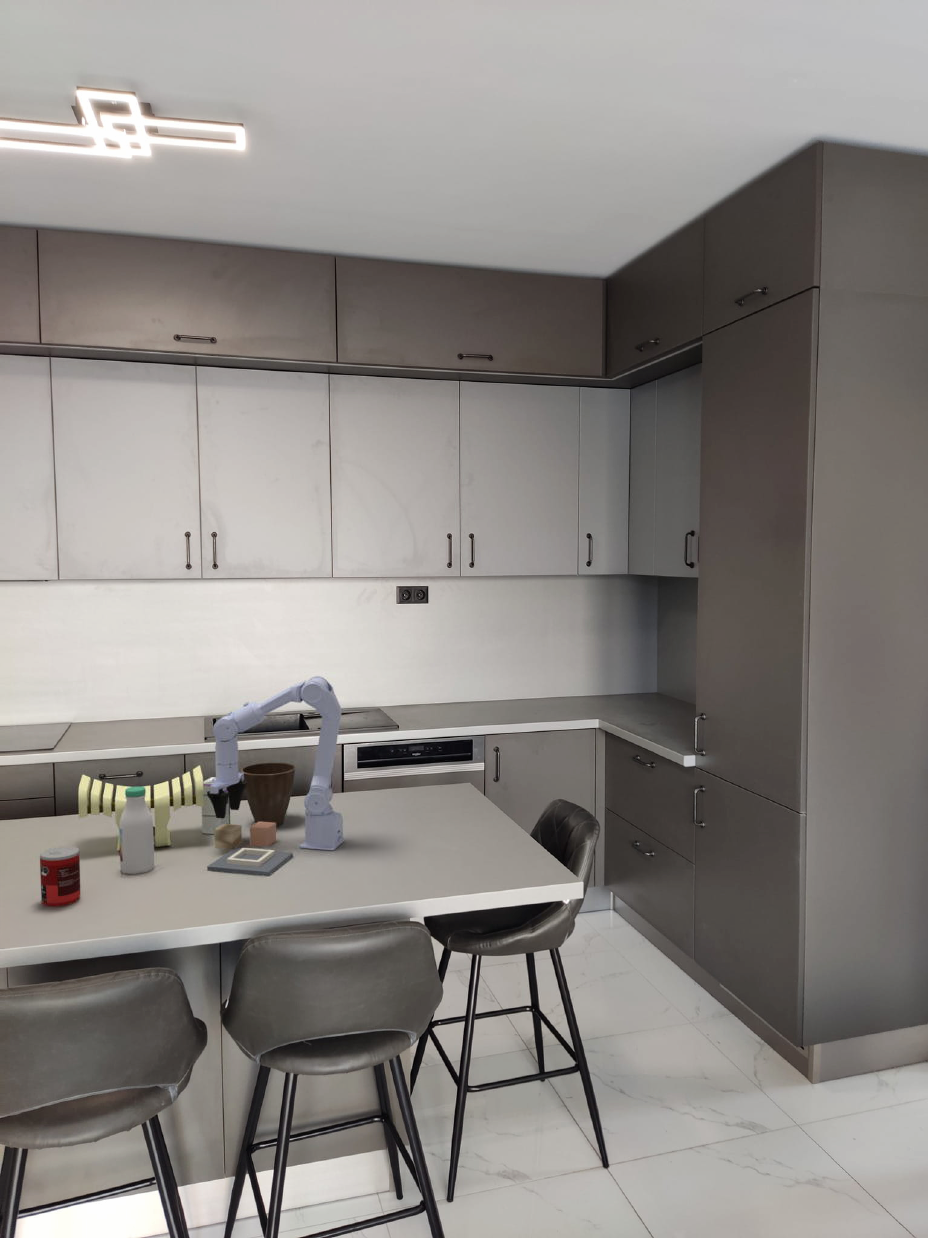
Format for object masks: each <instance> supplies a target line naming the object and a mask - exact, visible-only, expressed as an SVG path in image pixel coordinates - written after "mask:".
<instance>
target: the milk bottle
mask: <svg viewBox="0 0 928 1238" xmlns="http://www.w3.org/2000/svg"><path fill="white" fill-rule="evenodd" d="M129 787H130V788H127V789H126V790H125V795H126V797H125V798H126V799H127V801H126V806H125V809H124V811H123V813H122V816H121V819H120V830H119V829H118V832H119V833H118V835H120V851H119V865H120V871H121V873H123V874H125V875H126V874H127V875H135V874H136V875H138V874H144V873H146V872H150V871H151V870H153V869H154V867H155V846H154V845H155V844H154V843H155V836H153V827H154V822H153V821H154V820H153V816H152V812H151V813H150V811H149V809H148V807H147V805H146V802H145V796H146V795H145V793H146V790H145V787H143V786H129Z"/></svg>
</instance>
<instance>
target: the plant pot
mask: <svg viewBox="0 0 928 1238" xmlns="http://www.w3.org/2000/svg"><path fill="white" fill-rule="evenodd" d="M295 771H296V766H295V765H293V764H291V763H286V762H262V763H260V762H259V763H255V764H249V765H246V766H244V767H242V768H241V772H240V773H244V780H242V782H247V786H246V788H245V789H244V793H245V796H246V800H247V803H248V806H249V810H250V812H251V815H252V817H253V820H254V822H255V823H254V824H256V823H257V822H272V823H276V827H278V826H281V825H283V823H284V821H285V818H286V815H287V813H288V808H289V805H290V800H291V797H292V792H293V787H294V779H295V773H296V772H295Z"/></svg>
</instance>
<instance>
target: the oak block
mask: <svg viewBox="0 0 928 1238" xmlns="http://www.w3.org/2000/svg"><path fill="white" fill-rule="evenodd" d="M242 829H243V828H242V824H233V823H230V824H223V825H221V826H220V827H218V828H216V829H215V834H214V848H215V849H223V850H233V849H234V848H235V847H236V848H238V847H239V846H240V845H242V844H243V843H242V842H243V840H242V839H243V832H242Z"/></svg>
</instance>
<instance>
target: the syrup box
mask: <svg viewBox="0 0 928 1238" xmlns="http://www.w3.org/2000/svg"><path fill="white" fill-rule="evenodd" d="M213 778H216V776H215V777H213V776H212V777H209V778H208V779H206V780H203V791H204V807H201V830H202V831H201V833H202V834H205V835H206V834H207V835H215V829H216V828H218V827H220V826H221V825H223V824H231V809H230V803H229V797H228V800H227V805H226V815H225V818H223V819H222V818H216V815H215V811H214V808H213V805H212V802H211V800H210V799H209V797H208V796H207V792H208V791H210V786H211V785H212V784H213V783H214V782H212V779H213ZM223 791H224V792H228V791H227V788H224V789H223Z"/></svg>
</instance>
